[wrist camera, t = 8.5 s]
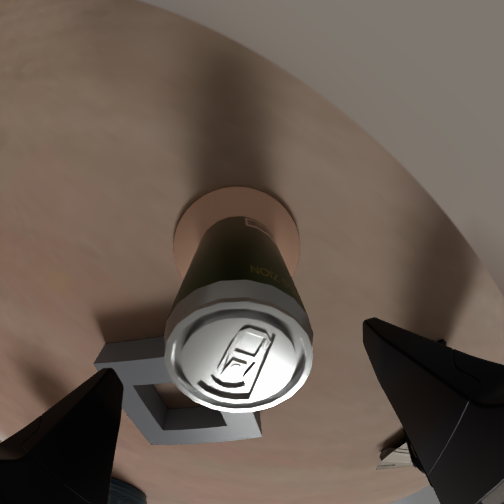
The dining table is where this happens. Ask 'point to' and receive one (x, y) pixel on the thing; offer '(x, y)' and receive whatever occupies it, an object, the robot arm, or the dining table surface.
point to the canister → (124, 493)
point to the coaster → (230, 205)
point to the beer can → (238, 322)
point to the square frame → (154, 410)
